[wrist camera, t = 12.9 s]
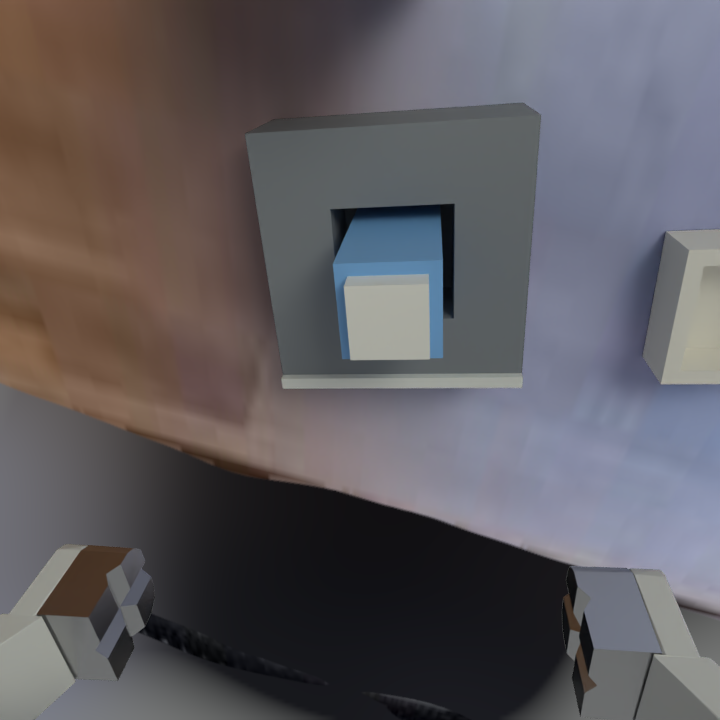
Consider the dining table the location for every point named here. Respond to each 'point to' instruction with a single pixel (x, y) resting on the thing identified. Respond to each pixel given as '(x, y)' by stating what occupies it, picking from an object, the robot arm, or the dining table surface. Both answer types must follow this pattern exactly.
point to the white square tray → (686, 310)
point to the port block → (400, 188)
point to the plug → (391, 284)
